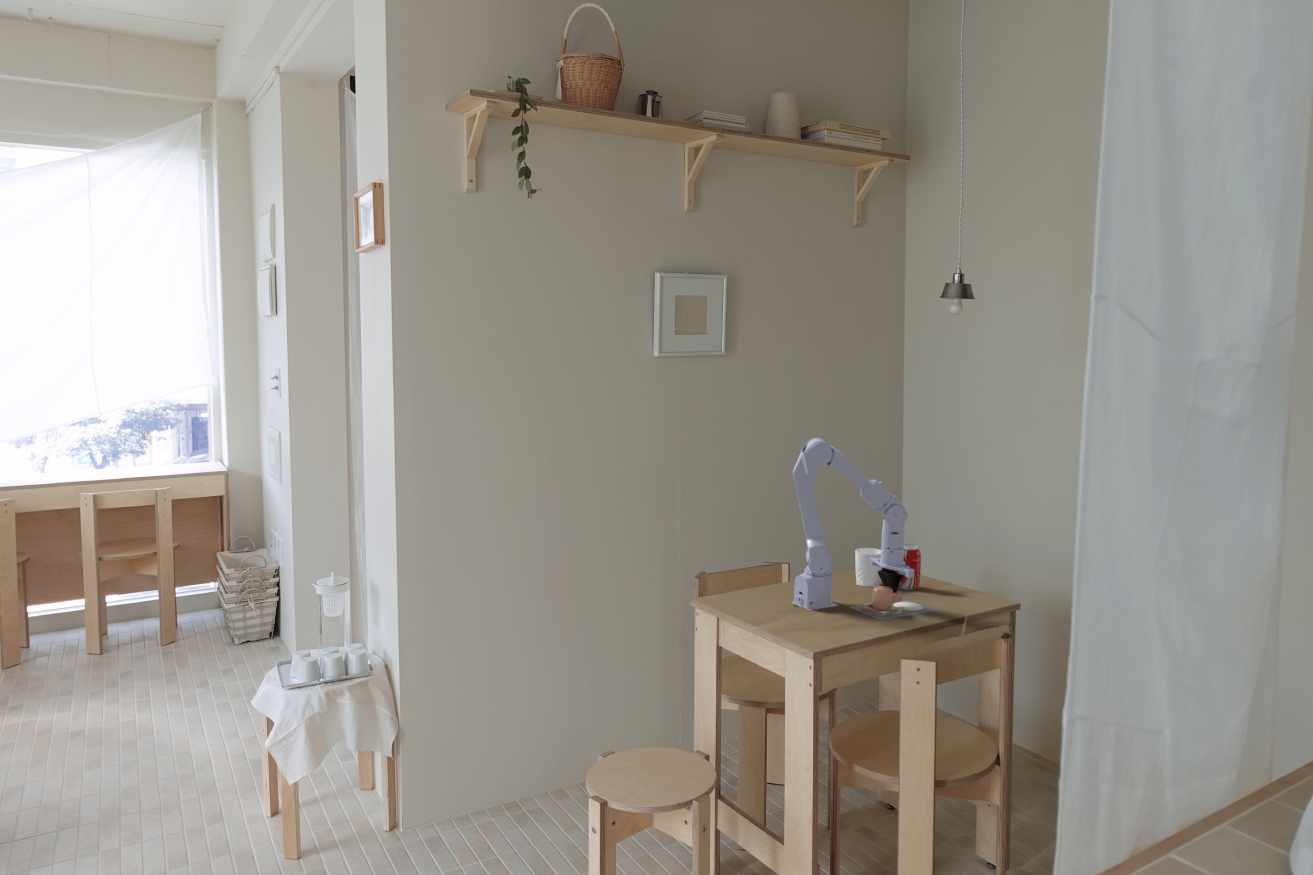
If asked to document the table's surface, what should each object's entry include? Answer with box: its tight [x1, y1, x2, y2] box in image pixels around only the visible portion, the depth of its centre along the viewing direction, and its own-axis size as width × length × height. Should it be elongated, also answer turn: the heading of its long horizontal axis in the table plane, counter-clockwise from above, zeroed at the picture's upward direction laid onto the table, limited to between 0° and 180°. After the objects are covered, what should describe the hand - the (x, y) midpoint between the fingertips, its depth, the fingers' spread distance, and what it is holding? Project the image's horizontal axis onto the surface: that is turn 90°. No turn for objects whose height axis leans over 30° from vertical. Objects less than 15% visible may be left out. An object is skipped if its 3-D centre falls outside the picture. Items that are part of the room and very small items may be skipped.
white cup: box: [854, 547, 882, 588], centre depth 256 cm, size 8×8×10 cm
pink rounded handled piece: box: [871, 585, 904, 612], centre depth 231 cm, size 9×5×6 cm, turn 124°
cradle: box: [860, 602, 902, 617], centre depth 231 cm, size 7×8×1 cm
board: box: [849, 597, 938, 621], centre depth 233 cm, size 19×12×1 cm, turn 117°
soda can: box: [898, 543, 922, 591], centre depth 253 cm, size 7×7×12 cm
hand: (890, 597), depth 235 cm, fingers closed
